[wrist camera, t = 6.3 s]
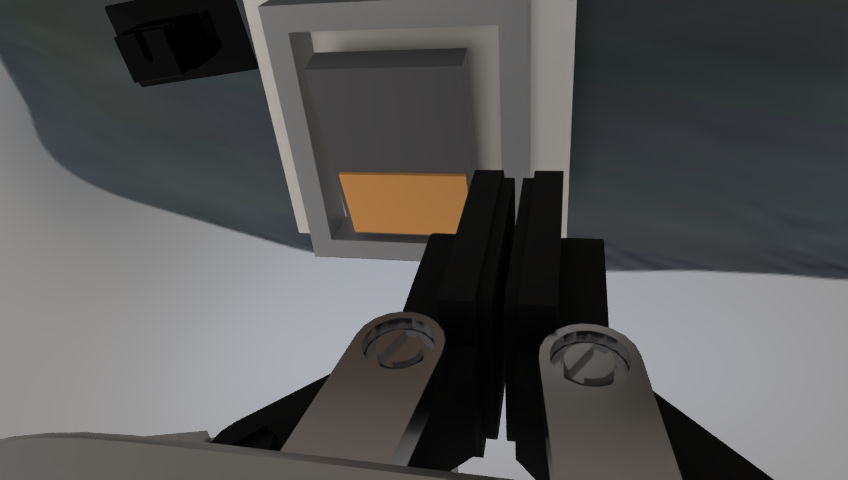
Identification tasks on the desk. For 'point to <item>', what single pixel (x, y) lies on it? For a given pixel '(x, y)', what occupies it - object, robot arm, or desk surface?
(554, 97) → the switch panel
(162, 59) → the black slotted block
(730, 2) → the desk surface
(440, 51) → the rocker
